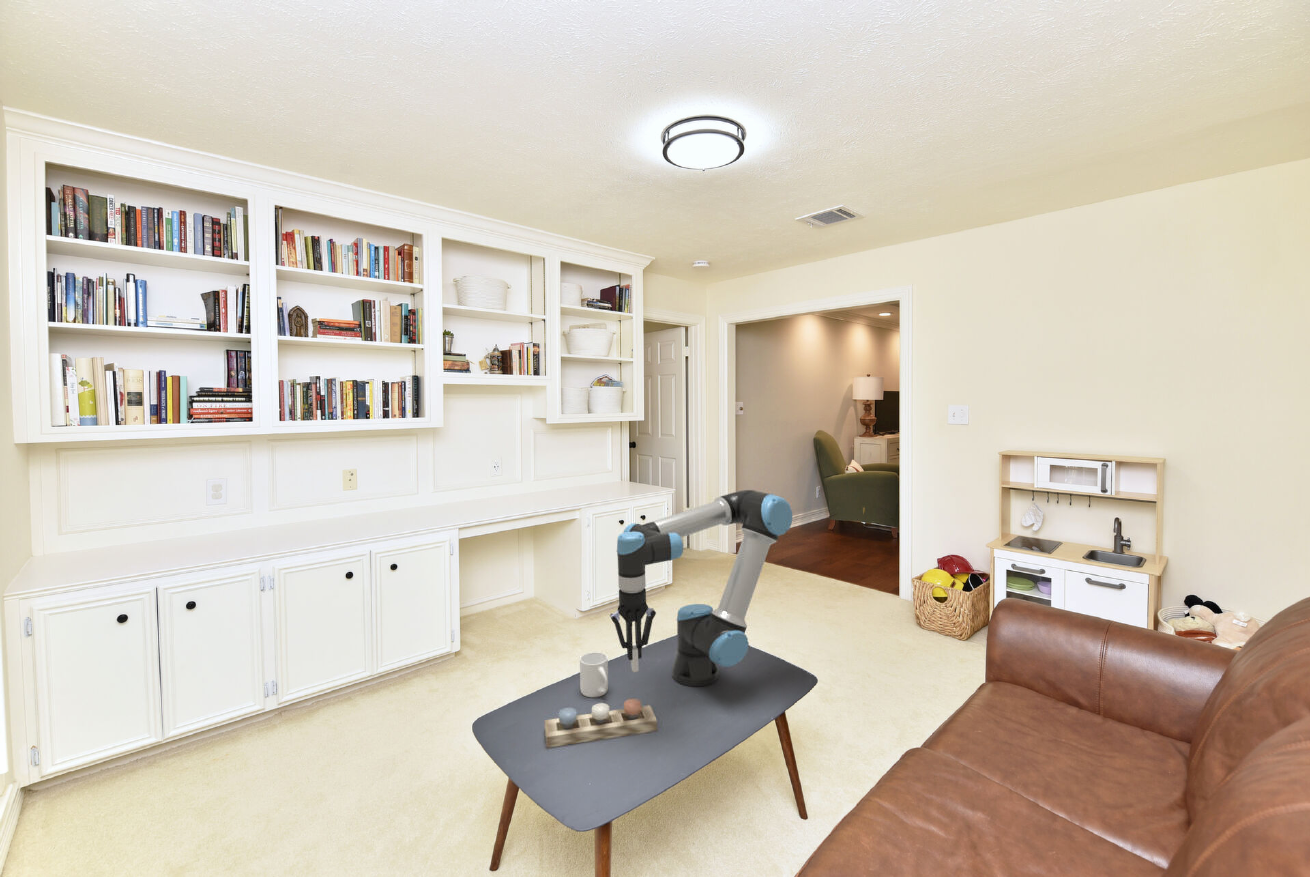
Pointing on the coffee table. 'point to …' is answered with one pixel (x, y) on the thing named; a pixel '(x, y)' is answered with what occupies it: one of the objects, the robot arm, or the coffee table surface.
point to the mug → (594, 674)
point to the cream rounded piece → (600, 713)
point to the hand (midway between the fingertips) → (634, 669)
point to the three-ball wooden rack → (599, 727)
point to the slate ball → (567, 717)
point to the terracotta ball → (632, 708)
